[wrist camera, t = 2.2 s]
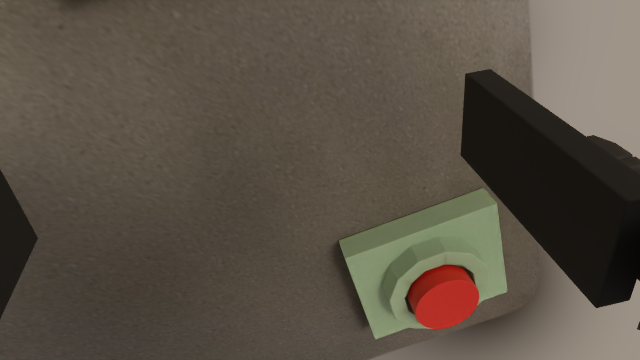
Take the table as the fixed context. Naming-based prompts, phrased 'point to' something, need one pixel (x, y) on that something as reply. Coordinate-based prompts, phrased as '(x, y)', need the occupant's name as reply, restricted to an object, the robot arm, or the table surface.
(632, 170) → the robot arm
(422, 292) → the button
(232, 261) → the table surface
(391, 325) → the button block
